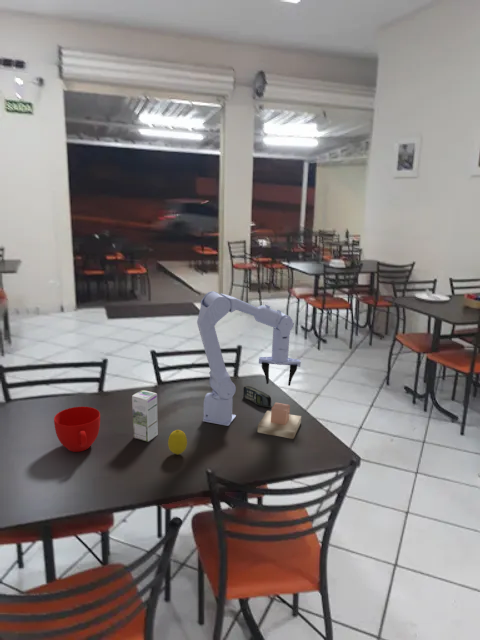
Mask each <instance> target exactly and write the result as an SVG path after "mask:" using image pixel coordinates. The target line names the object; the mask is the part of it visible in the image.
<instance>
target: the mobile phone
mask: <svg viewBox="0 0 480 640" xmlns="http://www.w3.org/2000/svg"><path fill="white" fill-rule="evenodd" d="M242 394H243V398H244V399H246V400H248V401H251V402H252V403H254V404H256V405H258V406H259V407H262V408H269V409H272V407H273V406H272V397H271V396H270V395H269V394H267V393H265V392H264V391H261V390H260V389H257V388H255V387H252V386H249V385H246V386H243V393H242Z"/></svg>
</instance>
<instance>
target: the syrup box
mask: <svg viewBox="0 0 480 640" xmlns="http://www.w3.org/2000/svg"><path fill="white" fill-rule="evenodd" d="M131 396H132V397H131V402H132V403H131V404H132V407H131V408H132V431H133V433H132V435H133V438H134V439H137V440H140V441H142V442H143V441H144V442H148V443H149V442H150V441H151V440H153V439H155V437H157V436H158V434H159V431H158V430H159V428H158V427H159V425H158V393H156V392H152V391H148V390H146V389H145V390H144V389H142V390H140V391H138V392H136V393H134V394H133V395H131Z"/></svg>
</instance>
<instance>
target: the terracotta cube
mask: <svg viewBox="0 0 480 640" xmlns="http://www.w3.org/2000/svg"><path fill="white" fill-rule="evenodd" d="M290 410H291V405H290V404H287V403H280V402H274V404H273V406H272V408H271V410H270V411H271V422H272V423H277V424H283V425H286V423H287V422H288V420H289V414H291V413H290V412H291V411H290Z"/></svg>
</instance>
